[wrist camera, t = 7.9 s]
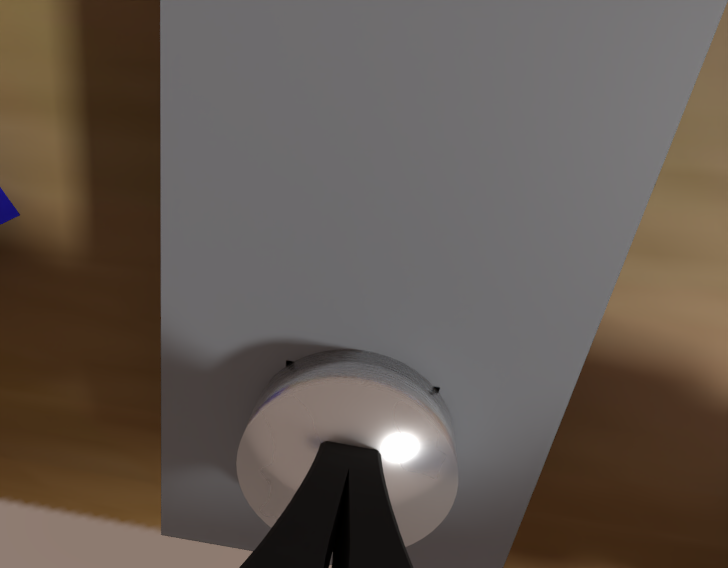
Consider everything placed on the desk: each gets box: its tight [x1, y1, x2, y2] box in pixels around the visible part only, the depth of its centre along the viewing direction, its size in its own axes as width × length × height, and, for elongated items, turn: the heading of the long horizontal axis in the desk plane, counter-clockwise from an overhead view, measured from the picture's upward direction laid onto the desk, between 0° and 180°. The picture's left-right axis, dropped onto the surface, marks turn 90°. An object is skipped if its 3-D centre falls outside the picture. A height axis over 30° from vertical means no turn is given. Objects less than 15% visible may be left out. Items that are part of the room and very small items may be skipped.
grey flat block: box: [160, 0, 728, 568], centre depth 14 cm, size 18×10×4 cm, turn 171°
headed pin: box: [236, 349, 458, 554], centre depth 15 cm, size 5×5×5 cm
